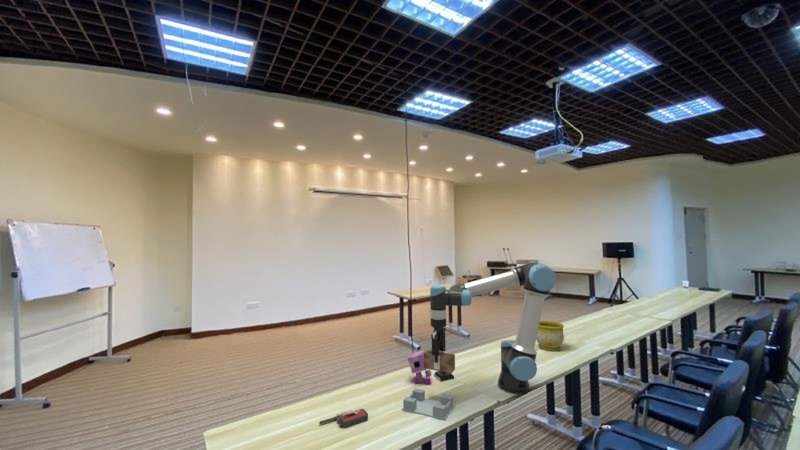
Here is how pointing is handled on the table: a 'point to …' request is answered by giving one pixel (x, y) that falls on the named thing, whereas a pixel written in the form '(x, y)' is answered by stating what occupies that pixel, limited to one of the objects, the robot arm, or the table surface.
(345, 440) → the table surface
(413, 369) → the toy
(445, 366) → the wooden block
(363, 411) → the chainsaw
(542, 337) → the flowerpot
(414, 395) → the jig
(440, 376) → the figurine
